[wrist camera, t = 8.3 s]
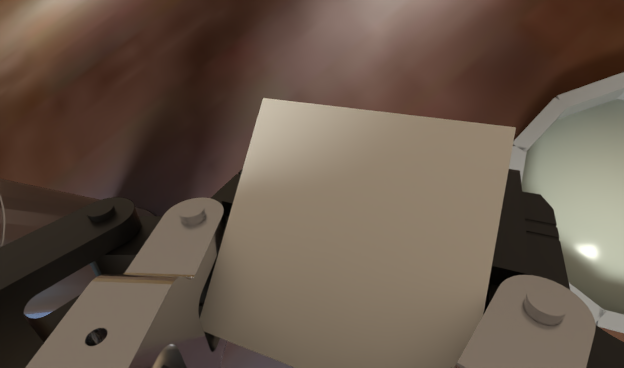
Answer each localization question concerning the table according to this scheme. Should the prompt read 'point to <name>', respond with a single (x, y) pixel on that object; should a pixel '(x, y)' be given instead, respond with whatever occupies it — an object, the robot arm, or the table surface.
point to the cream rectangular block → (359, 237)
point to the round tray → (583, 188)
